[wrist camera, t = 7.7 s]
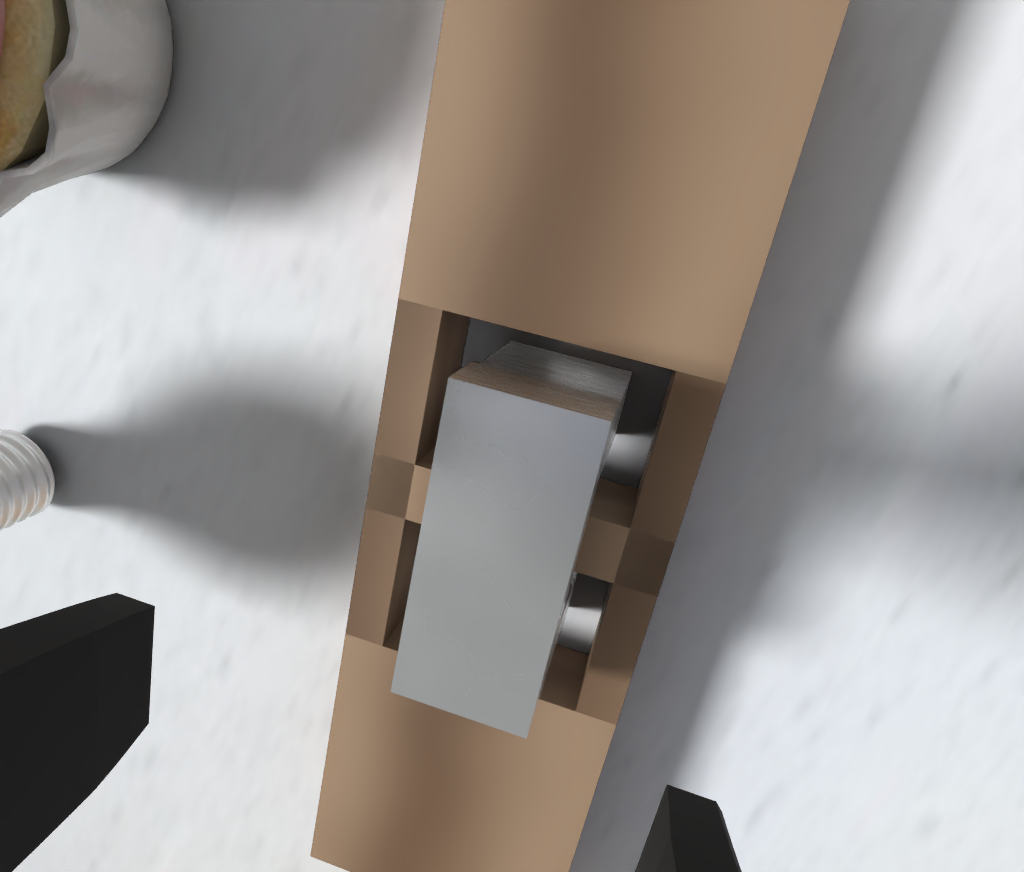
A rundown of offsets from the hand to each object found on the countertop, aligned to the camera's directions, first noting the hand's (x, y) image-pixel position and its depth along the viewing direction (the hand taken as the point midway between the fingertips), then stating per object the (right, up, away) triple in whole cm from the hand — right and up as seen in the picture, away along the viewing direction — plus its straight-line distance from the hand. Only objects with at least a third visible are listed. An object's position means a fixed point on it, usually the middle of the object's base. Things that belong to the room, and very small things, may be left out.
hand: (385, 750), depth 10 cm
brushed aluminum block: (+2, +3, +9) cm, 10 cm away
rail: (+2, +3, +9) cm, 10 cm away
